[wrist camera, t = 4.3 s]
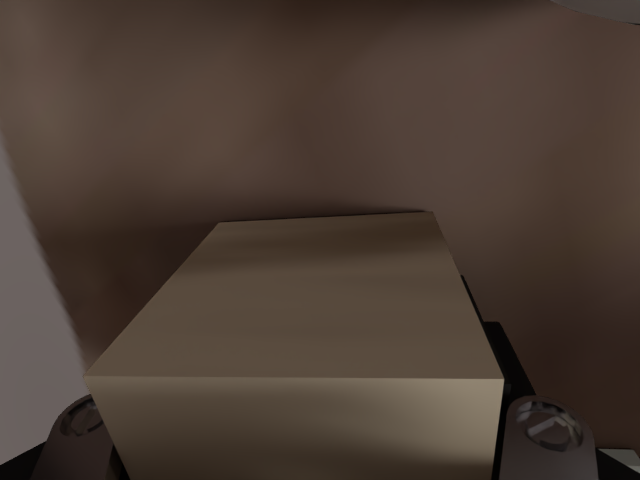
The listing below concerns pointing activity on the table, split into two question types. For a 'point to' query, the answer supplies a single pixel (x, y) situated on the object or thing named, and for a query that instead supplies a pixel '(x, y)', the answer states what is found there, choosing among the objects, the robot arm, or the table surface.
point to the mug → (606, 9)
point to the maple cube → (306, 359)
